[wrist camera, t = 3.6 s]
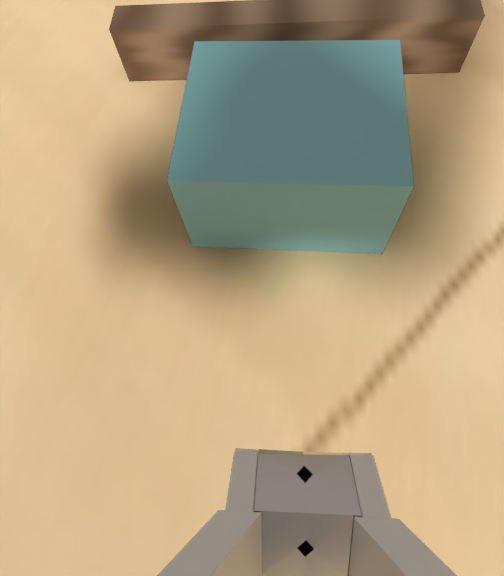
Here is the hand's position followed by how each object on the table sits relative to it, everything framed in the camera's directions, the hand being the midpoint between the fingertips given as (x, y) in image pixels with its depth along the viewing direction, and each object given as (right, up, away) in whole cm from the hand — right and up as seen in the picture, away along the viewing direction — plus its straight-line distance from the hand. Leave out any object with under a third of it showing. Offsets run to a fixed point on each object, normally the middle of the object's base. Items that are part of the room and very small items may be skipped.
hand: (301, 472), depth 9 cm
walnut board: (+2, +25, +29) cm, 38 cm away
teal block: (+2, +12, +24) cm, 27 cm away
